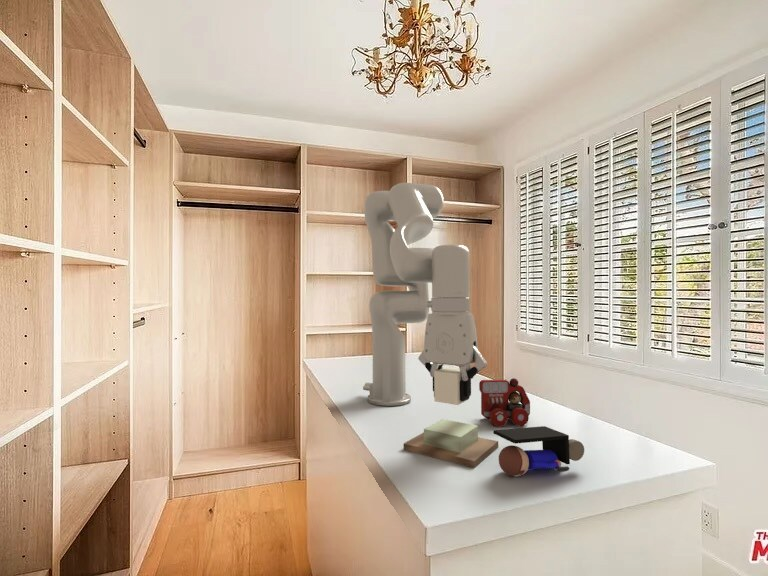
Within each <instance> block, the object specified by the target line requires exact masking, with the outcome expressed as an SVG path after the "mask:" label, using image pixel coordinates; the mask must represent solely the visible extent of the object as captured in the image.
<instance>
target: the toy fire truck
mask: <svg viewBox="0 0 768 576" xmlns="http://www.w3.org/2000/svg"><path fill="white" fill-rule="evenodd" d="M478 386H479V389H478V390H479V392H480V394H481V396H480V399H481V400H480V409H481V410H480V411H481V412H480V413H481V416H483V418H484V419H487V420H489V421H490V423H491V424H492V425H493V426H495V427H497V428H500V427H503V426H505V425H506V424H507V422H508V420H511V422H512V423H513V424H515V425H516V426H518V427H522V426H525V425H526V424H528V422H529V419H530V417H529V416H530V414H531V401H530V399H529V397H528V395H527V392H526V390H525V389H524V387H523V386H522V385H520V384H519V380H518V379H517V378H515V377H514V378H513V377H512V378H511V379H509V381H508V380H507V379H481V380H480V381H479V385H478Z"/></svg>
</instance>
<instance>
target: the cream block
mask: <svg viewBox="0 0 768 576" xmlns="http://www.w3.org/2000/svg"><path fill="white" fill-rule="evenodd" d="M461 380H462V376H461V372H460V368H456V367H454V368H453V367H443V368H442V369H439V370H436V371H434V392H433V398H434V402H437V403H441V404H448V405H456V406H459V405H460V404H462V403H464V402H468V401H469V399H467V400H465V401H460V381H461Z"/></svg>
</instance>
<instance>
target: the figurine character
mask: <svg viewBox="0 0 768 576" xmlns="http://www.w3.org/2000/svg"><path fill="white" fill-rule="evenodd" d="M492 433H493V434H494V435H496V436H498V437H500V438H502V439H504V440H506V441H509V442H511V443H513V444H514V445H512V444H511V445H507V446H504V447H503V448H502V449H501V450H500V452H499V453H498V465H499V467H500V468H501V470H502V472H503V473H504V474H506V475H508V476H510V477H513V478H514V477H515V478H516V477H520V476H522V475H524V474H526V473H527V471H528V470H545V469H555V470H556V471H562V470H563V471H564V470H569V469H570V467H569V465H570V464H571V461H570V460H572V461H573V462H578V461H580V460H581V459H582V458H583V457H584V454H585V446H584V444H583V443H582V442H581V441H579V440H576V439H573V438H569V437H570V436H569V435H568V433H567V434H566V433H563V432H561V431H559V430H555V429H553V428H552V427H548V426H543V425H541V426H529V427H527V426H526V427H517V428H516V427H515V428H503V429H501V428H500V429H493V431H492ZM537 442H542V449H529V450H526V449H525V450H524V449H523V448H522V447H520V446H517V445H515V444H524V443H526V444H527V443H537ZM562 463H564V464H565V465H568V466H561V465H562Z"/></svg>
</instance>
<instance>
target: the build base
mask: <svg viewBox="0 0 768 576" xmlns="http://www.w3.org/2000/svg"><path fill="white" fill-rule="evenodd" d="M497 449H499V441H498V440H494V439H489V438H485V437H479V425H475V424H471V423H465V422H460V421H455V420H449V419H445V418H444V419H443V418H441V419H440V420H438V421H436V422H434V423H432V424H430V425H428V426H426V427H425V428H423V432H422V433H420V434H418V435H416V436H415V437H413V438H410V439H409V440H407V441H405V442H404V443H403V450H404V451H406V452H407V451H408V452H412V453H416V454H419V455H424V456H427V457H431V458H434V457H435V459H440V460H443V461H447V462H451V463H454V464H455V463H456V464H458V465H463V466H466V467H469V468H473V469H474V468H476V467H478V465H480V464H481V463H482V462H483V461H484V460H485V459H487V458H488V457H489V456H490V455H491V454H493V452H495V451H496V450H497Z"/></svg>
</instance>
